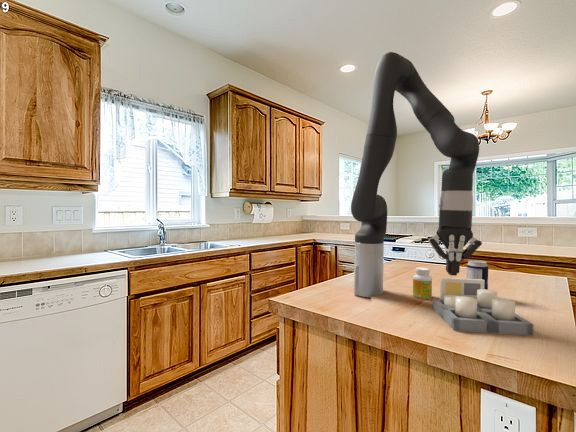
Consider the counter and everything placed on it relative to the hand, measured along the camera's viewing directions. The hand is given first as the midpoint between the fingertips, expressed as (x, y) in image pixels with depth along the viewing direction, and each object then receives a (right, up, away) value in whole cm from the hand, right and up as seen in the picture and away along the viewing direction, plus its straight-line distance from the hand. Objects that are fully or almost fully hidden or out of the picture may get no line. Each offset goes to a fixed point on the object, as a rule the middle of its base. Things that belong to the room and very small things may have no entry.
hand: (452, 274), depth 80 cm
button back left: (0, -10, 0) cm, 10 cm away
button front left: (-1, -8, -8) cm, 11 cm away
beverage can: (+16, -11, +16) cm, 25 cm away
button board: (+4, -11, -4) cm, 13 cm away
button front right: (+7, -8, -9) cm, 14 cm away
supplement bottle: (-1, -11, +16) cm, 19 cm away
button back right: (+8, -8, -1) cm, 12 cm away
